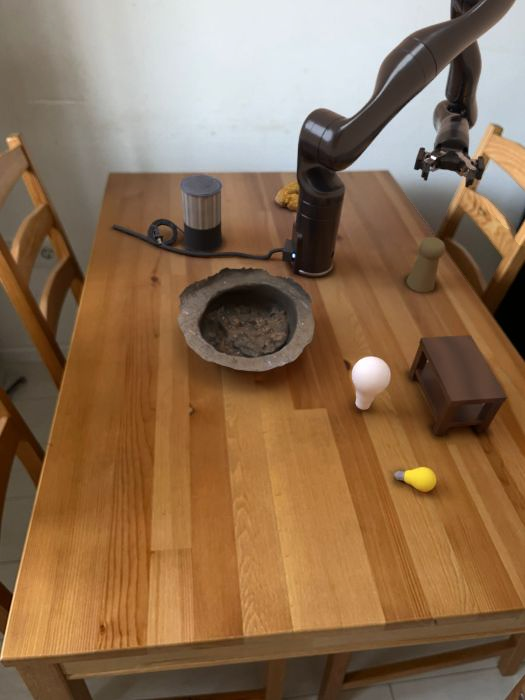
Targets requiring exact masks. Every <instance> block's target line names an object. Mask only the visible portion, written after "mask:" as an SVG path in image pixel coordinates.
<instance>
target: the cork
mask: <svg viewBox="0 0 525 700" xmlns="http://www.w3.org/2000/svg"><path fill="white" fill-rule="evenodd" d="M445 251H446V245H445V242H444V241H443V240H441V239H440V238H438V237H434V236H427V237H425V238H423V239H422V240H421V241H420V243H419V247H418V252H419V254H418V256H417V258H416V260H415V262H414V264H413V266H412V268H411V270H410V272H409V274H408V277H407V278H406V285H407V286H408V288H410V289H411V290H414V291H416V292H420V293H429V292H431V291H433V290H434V289H435V285H436V277H437V273H438V268H439V262H440V259H441V258H442V257H443V256H444V254H445Z"/></svg>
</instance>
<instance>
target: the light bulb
mask: <svg viewBox="0 0 525 700" xmlns="http://www.w3.org/2000/svg"><path fill="white" fill-rule="evenodd" d="M393 475H394V476H393V477H394V478H395V479H396V480H398V481H402V482H405V483H406V484H408V485H410V486H412V487H413V488H415V489H416V490H418V491H420V492H423V493H424V492H429V491H432V490H433V489H434V488H435V486H436V484H437V476H436V474H435V473H434V470H433V469H431V468H429V467H426V466H420V467H416V468H413V469H406V471H402V470H399V469H398V470H397V471H395V472H394V474H393Z"/></svg>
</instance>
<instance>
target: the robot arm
mask: <svg viewBox="0 0 525 700" xmlns="http://www.w3.org/2000/svg"><path fill="white" fill-rule="evenodd" d="M516 1H517V0H450V4H449V5H450V7H449V19H448V20H445V21H441V22H438V23H435V24H431V25H428V26H425V27H421V28H420V29H417V30H415V31H413V32H412V33H410V34H409V35H407V36H406V37H405V38H403V40H402V41H401V42H399V43H398V44H397V45H395V47H394V48H393V49H392V50H391V51H390V52H389V53H388V54H387V55H386V56H385V57H384V59H383V60H382V61H381V64H380V66H379V68H378V71H377V75H376V78H375V82H374V87H373V91H372V94H371V96H370V98H369V100H368V101H367V102H366V103H365V104H364V105H363V107H361V108H360V109H359V110H358V111H357V112H356V113H355V114H353V115H352V116H350V117H346V116H344V115H342V114H340V113H338V112H335V111H333V110H331V109H329V108H326V107H318V108H316V109H314V110H312V111H311V112H310V113H308V114H307V116H306V117H305V119H304V121H303V123H302V125H301V127H300V130H299V135H298V141H297V152H296V174H295V175H296V176H295V177H296V181H297V183H298V186H299V196H298V205H297V211H296V215H295V221H294V222H292V232H291V239H290V238H286V239H285V242H284V246H283V247H277V248H273V249H271V250H269V251H268V253H267V254H265V255H252V254H249V253H245V252H240V251H239V252H238V251H220V252H209V253H201V252H193V251H191V250H186V249H182V248H177V247H174V246H171V245H169V246H167V245H164V244H161V245H159V246H158V247H159V248H161V249H164V250H167V251H170V252H173V253H177V254H180V255H181V254H182V255H185V256H192V257H193V256H194V257H202V258H203V257H204V258H214V257H215V258H216V257H240V258H245V259H250V260H260V261H264V260H269V259H271V257H272V256H273V255H274V254H276V253H282V254H281V255H282V256H281V261H282V262H289V263H290V267H291V269H292V273H293V274H294V275H301V276H303V277H307V278H322V277H324V276H327V275H329V274H330V273H331V272H332V270H333V266H334V258H335V254H336V249H337V247H336V245H337V240H338V236H339V235H338V234H339V229H340V223H341V219H342V218H341V217H342V213H343V206H344V199H345V193H346V186H345V185H346V184H345V181H344V179H342V177H341V176H340V174H339V173H338V172H342V171H345V170H346V169H348V168H349V167H351V166H352V165H353V164H354V163H355V162H357V161H358V160H359V158H360V157H362V155H363V154H364V153H365V151H366V150H367V149H368V148H369V147H370V146H371V144H372V143H374V141H375V140H376V138H377V137H378V136H379V135H380V134H381V133H382V131H383V130H384V129H385V128H386V126H388V125H389V123H391V122H392V120H393V119H394V118H396V116H397V115H399V113H401V111H402V110H403V109H404V108H405V107H406V106H407V105H408V104H409V103H410V102H412V100H414V99H415V98H416V97H417V96H418V95H419V94H420V93H422V92H423V91H424V90H425V88H427V87H428V86H429V85H430V84H431V83H432V82H433V81H434V80H435V79H436V78H437V77H438V76H439V75H440V74H441V72H442V71H443V70H444V69H446V68H447V67H448V71H447V76H446V82H445V88H444V96H445V99H442V100H440V101H439V102H438V103H437V104H436V105H435V107H434V108H433V111H432V125H433V127H434V130H435V132H436V136H435V139H434V142H433V150H432V151H427V150H426V147H422V146H421V147H419V149H418V151H417V155H416V157H415V161H414V165H413V170H414V171H419V170H421V174H420V177H421V178H422V179H423V181H426V182H427V181H428V179H429V175H430V172H432V173H433V172H434V173H435V172H436V171H438V170H443V171H450V172H454V173H456V175H458V176H459V177H463V178H465V182H464V188H470V187H471V186H473V185H474V182H475V180H477V181H481V180H482V179H483V175H484V172H485V170H486V164H485V157H484V156H482V155H478V156H477V158H471V156H470V155H469V150H470V133H469V132H470V130H472V129H473V128H474V127H475V126H476V124H477V121H478V117H479V108H478V102H477V90H478V86H479V83H480V79H481V74H482V69H483V62H482V61H483V60H482V54H481V50H480V45H479V42H478V40H479V39H480V38H481V37H482V36H484V35H485V34H486V33H487V32H489V31H490V30H491V29H493V28H494V27H495V26H496V25H497V24H498V23H499V22H500V21H501V20H502V19H503V18H504V17H505V16H506V15H507V14H508V13H509V11H510V10H511V9H512V8H513V6H514V4H515V3H516ZM112 229H114V230H117V231H120V232H124V233H127V234H128V235H131V236H134V237H136V238H139V239H141V240H144V241H146V242H147V243H150V244H152V243H151V242H150V241H149V240H148V237H147V235H144V234H142V233H139V232H136V231H135V230H134V231H133V230H131V229H128V228H126V227H123V226H120V225H117V224H112Z"/></svg>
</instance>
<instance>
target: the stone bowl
mask: <svg viewBox="0 0 525 700" xmlns="http://www.w3.org/2000/svg"><path fill="white" fill-rule="evenodd" d="M178 298H179V303H180V304H179V305H178V309H179V311H180V313H179V315H177V322H178V325H179V328H180V331H181V332H182V334H183V335H184V338H185V342H186V344H187V345H188V347H189V348H190V349H192V350H193V351H194V352H195V354H197V355H198V356H200V358H201V359H203V360H204V361H206V362H210V363H216V364H218V365H221V366H224V367H228V368H231V369H234V370H237V371H245V372H247V371H248V372H265V371H269V370H272V369H274V368H277V367H282V366H284V365H286V364H288V363H293V362H294V361H295V360H297V359H298V357H299V356H300V355H301V354H302V353H303V351H304V348H305V347H306V346H307V345H309V344H311V343H312V340H313V336H314V331H315V327H316V325H315V324H316V323H315V322H316V321H315V319H314V313H313V308H312V307H311V305H312V298H311V296H310V293H308V292H307V291H306V290H305V289H304V288H303V286H302V285H301V284H300V283H298V282H297V281H295V280H294V279H293V278H291V277H285V276H281V275H272V274H270V272H268V270H266V269H264V268H253V267H248V268H246V267H245V266H243V267H241V268H230V267H224V268H222V269H220V270H219V271H218V272H216V273H214V274H213V275H209V276H207V278H203V279H201V280H198V281H194V282H193V283H190V284H189V285H188V286H186V287H185V288H184V289H183V291H182V292H181V293H180V294H179V296H178Z"/></svg>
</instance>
